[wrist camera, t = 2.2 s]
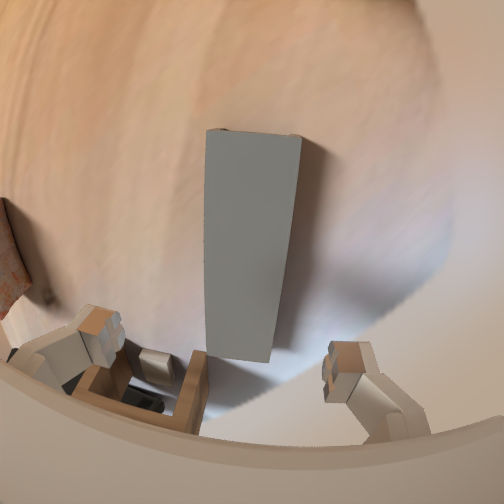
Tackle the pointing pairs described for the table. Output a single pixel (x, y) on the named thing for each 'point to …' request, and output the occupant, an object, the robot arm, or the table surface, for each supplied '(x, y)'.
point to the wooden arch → (156, 371)
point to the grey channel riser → (246, 238)
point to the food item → (10, 267)
